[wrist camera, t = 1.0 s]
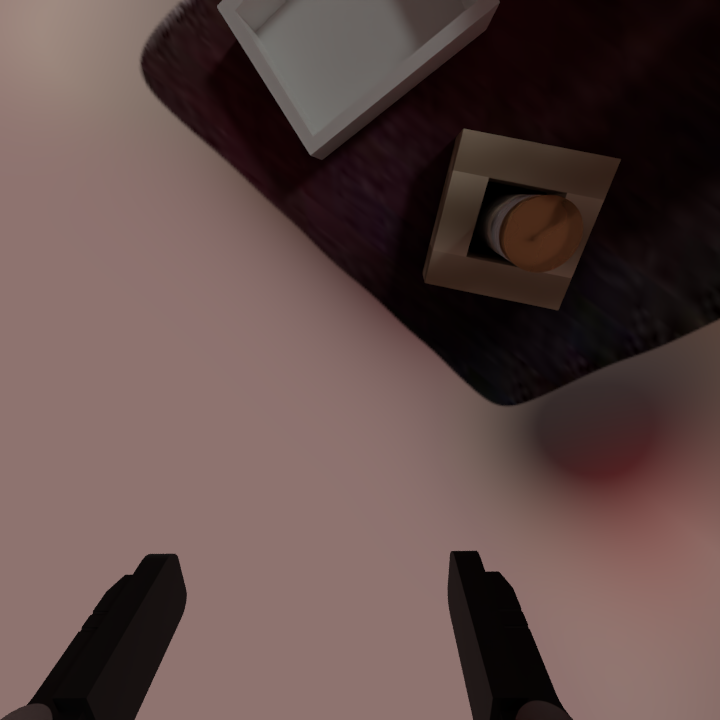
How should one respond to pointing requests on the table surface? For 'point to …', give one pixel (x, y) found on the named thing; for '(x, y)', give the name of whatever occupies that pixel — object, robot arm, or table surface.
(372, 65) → the tray
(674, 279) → the table surface
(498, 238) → the glass jar with cork
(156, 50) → the table surface
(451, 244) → the housing
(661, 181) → the table surface
